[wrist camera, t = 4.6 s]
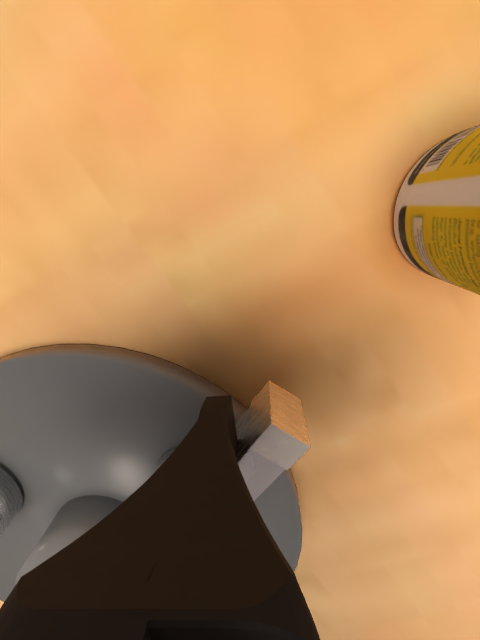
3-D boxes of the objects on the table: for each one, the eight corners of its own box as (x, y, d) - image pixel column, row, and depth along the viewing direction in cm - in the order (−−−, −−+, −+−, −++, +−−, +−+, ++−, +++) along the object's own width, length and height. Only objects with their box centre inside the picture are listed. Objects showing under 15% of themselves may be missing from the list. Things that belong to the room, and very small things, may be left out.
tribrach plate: (304, 621, 19) (318, 751, 15) (11, 616, 21) (-58, 729, 17) (290, 328, 12) (309, 399, 8) (-141, 358, 14) (-331, 430, 10)
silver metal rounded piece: (218, 534, 15) (209, 604, 12) (135, 491, 14) (107, 555, 12) (331, 418, 12) (351, 476, 10) (235, 358, 11) (228, 403, 9)
